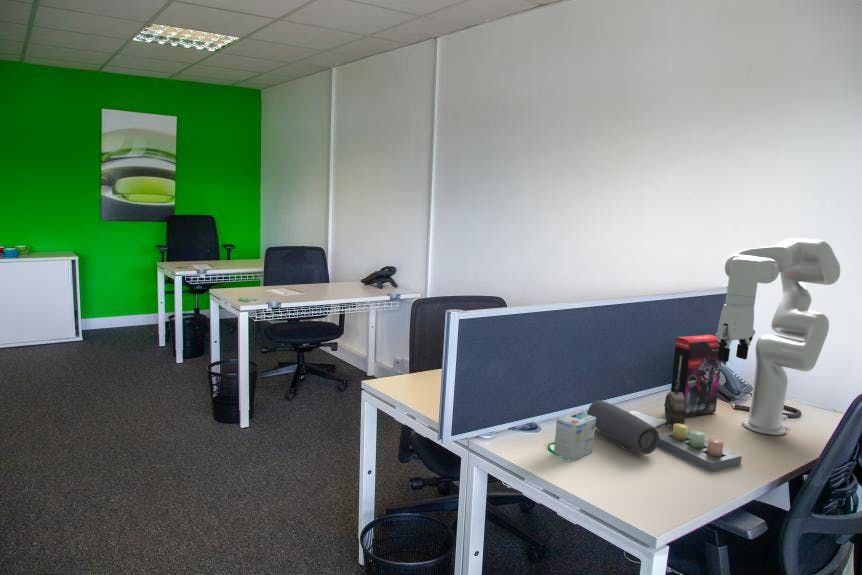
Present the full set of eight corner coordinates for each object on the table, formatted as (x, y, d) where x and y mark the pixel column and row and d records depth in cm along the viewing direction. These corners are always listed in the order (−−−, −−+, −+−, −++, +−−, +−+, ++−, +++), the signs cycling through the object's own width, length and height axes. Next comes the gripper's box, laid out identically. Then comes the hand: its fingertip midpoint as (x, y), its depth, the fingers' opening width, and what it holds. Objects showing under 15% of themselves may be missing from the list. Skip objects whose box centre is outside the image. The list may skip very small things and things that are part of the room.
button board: (682, 437, 187) (683, 429, 187) (740, 464, 170) (741, 456, 170) (652, 443, 181) (653, 435, 181) (710, 471, 164) (711, 463, 164)
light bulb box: (573, 444, 177) (576, 409, 175) (593, 452, 172) (597, 416, 170) (552, 454, 169) (555, 417, 168) (573, 462, 165) (576, 425, 163)
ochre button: (678, 435, 183) (680, 422, 183) (689, 440, 180) (691, 427, 179) (669, 436, 181) (670, 424, 181) (680, 442, 178) (681, 429, 177)
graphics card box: (681, 419, 204) (692, 341, 200) (665, 412, 210) (675, 336, 206) (716, 413, 212) (726, 338, 208) (699, 406, 218) (709, 333, 214)
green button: (695, 442, 178) (696, 430, 177) (706, 448, 174) (708, 435, 174) (685, 444, 176) (687, 431, 176) (697, 450, 173) (699, 437, 172)
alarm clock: (684, 435, 189) (690, 386, 187) (666, 433, 190) (672, 384, 188) (677, 423, 200) (683, 376, 198) (660, 420, 201) (665, 374, 199)
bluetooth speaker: (659, 456, 172) (663, 423, 170) (633, 460, 168) (637, 426, 167) (607, 427, 193) (610, 397, 191) (583, 430, 189) (586, 399, 187)
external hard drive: (655, 431, 193) (620, 418, 202) (667, 426, 198) (633, 414, 208) (655, 426, 193) (621, 414, 202) (668, 421, 198) (634, 409, 207)
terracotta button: (712, 450, 173) (714, 437, 172) (725, 456, 169) (726, 443, 169) (703, 452, 171) (705, 439, 170) (715, 458, 167) (717, 445, 167)
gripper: (747, 297, 181) (739, 353, 184) (709, 299, 173) (701, 358, 176) (771, 301, 175) (762, 360, 177) (732, 304, 167) (724, 365, 169)
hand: (732, 359), depth 177 cm, fingers open, 7 cm apart
